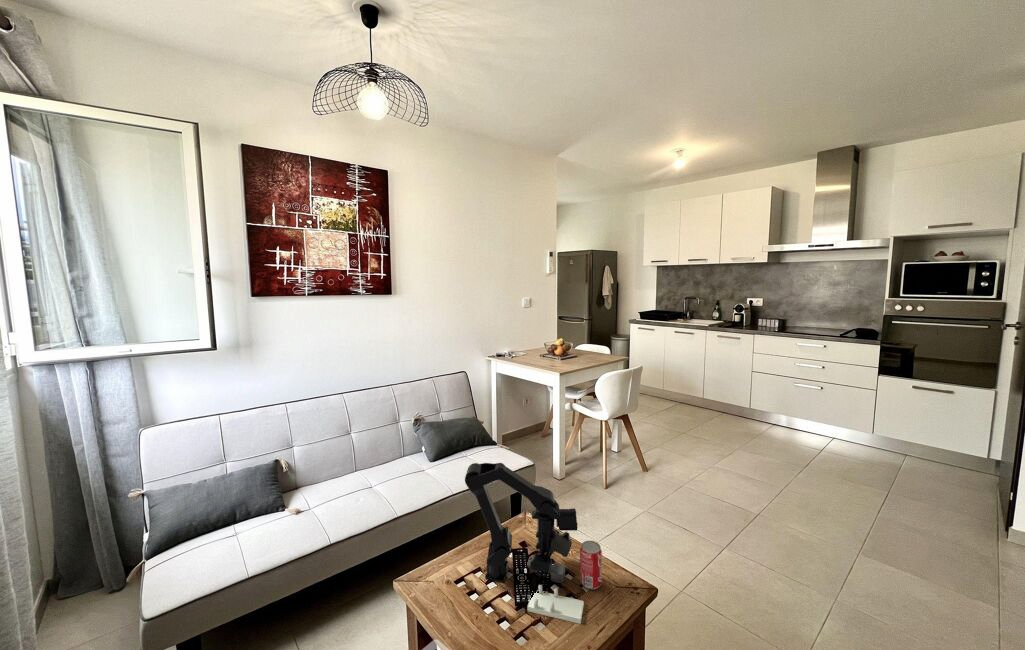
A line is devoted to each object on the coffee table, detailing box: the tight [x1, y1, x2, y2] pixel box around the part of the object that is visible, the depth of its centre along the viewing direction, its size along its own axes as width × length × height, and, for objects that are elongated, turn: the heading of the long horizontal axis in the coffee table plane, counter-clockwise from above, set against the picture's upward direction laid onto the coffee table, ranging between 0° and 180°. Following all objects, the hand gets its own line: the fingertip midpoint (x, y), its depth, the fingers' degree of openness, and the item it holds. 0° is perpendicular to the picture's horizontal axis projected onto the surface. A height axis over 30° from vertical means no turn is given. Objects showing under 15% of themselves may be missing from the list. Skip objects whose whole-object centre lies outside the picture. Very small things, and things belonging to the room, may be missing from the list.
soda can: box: [579, 540, 603, 591], centre depth 134 cm, size 7×7×13 cm
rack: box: [526, 584, 585, 625], centre depth 124 cm, size 16×7×4 cm, turn 73°
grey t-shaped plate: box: [527, 559, 566, 584], centre depth 139 cm, size 14×5×3 cm, turn 73°
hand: (545, 571), depth 139 cm, fingers closed on grey t-shaped plate, 3 cm apart
